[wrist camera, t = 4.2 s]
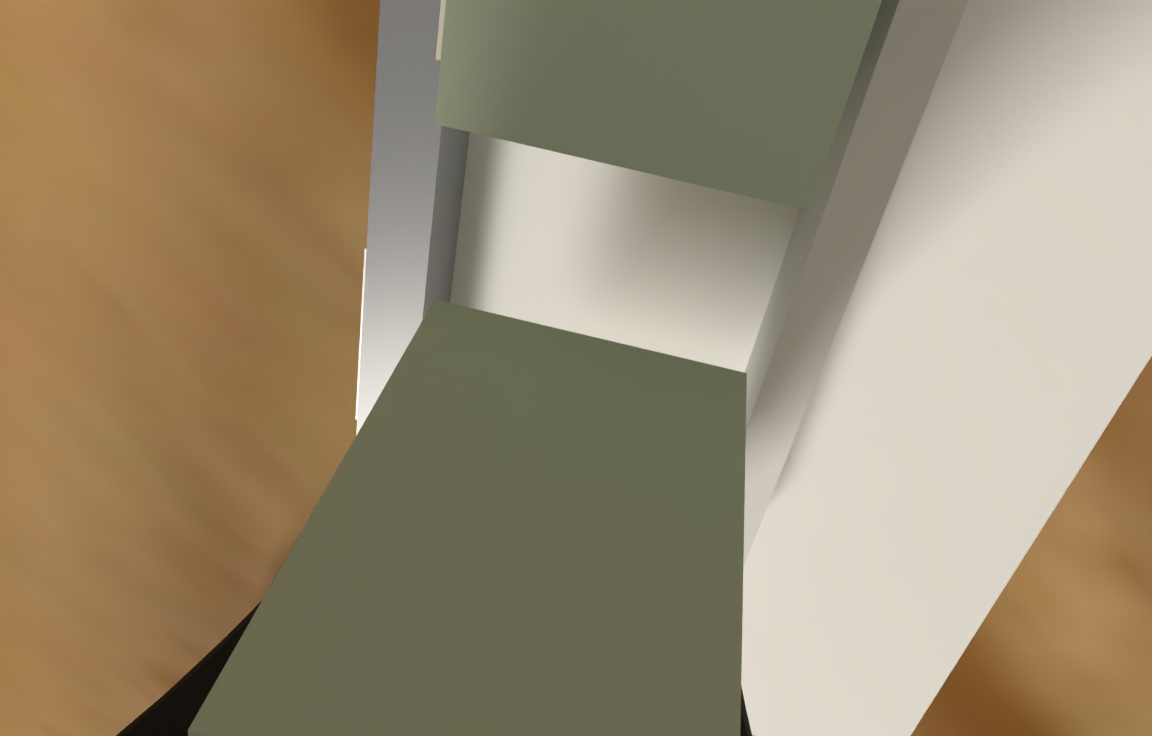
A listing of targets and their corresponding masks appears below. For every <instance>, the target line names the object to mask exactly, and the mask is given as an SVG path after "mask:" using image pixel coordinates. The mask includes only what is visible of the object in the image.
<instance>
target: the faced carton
mask: <svg viewBox="0 0 1152 736" xmlns="http://www.w3.org/2000/svg"><path fill="white" fill-rule="evenodd" d="M881 2H882V0H441V5H440V16H439V27H438V38H437V49H436V60H440V70H439V81H438V91H437V102H436V113H435V124H437V125H441V126H445V127H450V128H454V129H458V130H463V131H467V132H471V133H476V134H480V135H484V136H489V137H493V138H497V139H502V140H506V141H510V142H515V143H519V144H523V145H528V146H532V147H536V148H541V149H545V150H549V151H553V152H558V153H562V154H566V155H571V156H575V157H579V158H584V159H588V160H592V161H597V162H601V163H605V164H610V165H614V166H618V167H623V168H627V169H631V170H636V171H640V172H644V173H649V174H653V175H657V176H662V177H666V178H670V179H674V180H679V181H683V182H687V183H692V184H696V185H700V186H705V187H709V188H713V189H718V190H722V191H726V192H731V193H735V194H739V195H744V196H748V197H752V198H757V199H761V200H765V201H770V202H774V203H778V204H783V205H787V206H791V207H795V208H800V209H804V210H808V211H809V210H810V207H811V204H812V201H813V198H814V195H815V192H816V189H817V187H818V184H819V181H820V178H821V175H822V172H823V169H824V166H825V163H826V161H827V158H828V155H829V152H830V149H831V146H832V143H833V140H834V138H835V135H836V132H837V129H838V126H839V123H840V120H841V117H842V115H843V112H844V109H845V106H846V103H847V100H848V97H849V94H850V91H851V89H852V86H853V83H854V80H855V77H856V74H857V71H858V68H859V66H860V63H861V60H862V57H863V54H864V51H865V48H866V45H867V42H868V40H869V37H870V34H871V31H872V28H873V25H874V22H875V19H876V17H877V14H878V11H879V8H880V5H881Z"/></svg>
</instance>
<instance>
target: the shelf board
mask: <svg viewBox="0 0 1152 736" xmlns="http://www.w3.org/2000/svg"><path fill="white" fill-rule="evenodd" d="M450 303H452V304H456V305H461V306H465V307H469V308H473V309H478V310H482V311H486V312H490V313H495V314H499V315H503V316H507V317H512V318H516V319H520V320H524V321H528V322H533V323H537V324H541V325H545V326H550V327H554V328H558V329H562V330H567V331H571V332H575V333H579V334H584V335H588V336H592V337H596V338H601V339H605V340H609V341H613V342H617V343H622V344H626V345H630V346H634V347H639V348H643V349H647V350H651V351H656V352H660V353H664V354H668V355H673V356H677V357H681V358H685V359H689V360H694V361H698V362H702V363H706V364H711V365H715V366H719V367H723V368H728V369H732V370H736V371H740V372H745V373H747V394H746V449H745V505H744V560H743V616H742V671H741V686H742V691H743V696H744V701H745V706H746V711H747V715H748V720H749V724H750V728H751V733H752V735H754V736H910V735H911V734H912V732H913V731H914V729H915V728H916V726H917V724H918V723H919V721H920V720H921V718H922V717H923V715H924V713H925V712H926V710H927V709H928V707H929V706H930V704H931V702H932V701H933V699H934V698H935V696H936V694H937V693H938V691H939V690H940V688H941V687H942V685H943V683H944V682H945V680H946V679H947V677H948V676H949V674H950V672H951V671H952V669H953V668H954V666H955V665H956V663H957V661H958V660H959V658H960V657H961V655H962V654H963V652H964V650H965V649H966V647H967V646H968V644H969V643H970V641H971V639H972V638H973V636H974V635H975V633H976V631H977V630H978V628H979V627H980V625H981V624H982V622H983V620H984V619H985V617H986V616H987V614H988V613H989V611H990V609H991V608H992V606H993V605H994V603H995V602H996V600H997V598H998V597H999V595H1000V594H1001V592H1002V591H1003V589H1004V587H1005V586H1006V584H1007V583H1008V581H1009V580H1010V578H1011V576H1012V575H1013V573H1014V572H1015V570H1016V568H1017V567H1018V565H1019V564H1020V562H1021V561H1022V559H1023V557H1024V556H1025V554H1026V553H1027V551H1028V550H1029V548H1030V546H1031V545H1032V543H1033V542H1034V540H1035V539H1036V537H1037V535H1038V534H1039V532H1040V531H1041V529H1042V528H1043V526H1044V524H1045V523H1046V521H1047V520H1048V518H1049V516H1050V515H1051V513H1052V512H1053V510H1054V509H1055V507H1056V505H1057V504H1058V502H1059V501H1060V499H1061V498H1062V496H1063V494H1064V493H1065V491H1066V490H1067V488H1068V487H1069V485H1070V483H1071V482H1072V480H1073V479H1074V477H1075V476H1076V474H1077V472H1078V471H1079V469H1080V468H1081V466H1082V465H1083V463H1084V461H1085V460H1086V458H1087V457H1088V455H1089V453H1090V452H1091V450H1092V449H1093V447H1094V446H1095V444H1096V442H1097V441H1098V439H1099V438H1100V436H1101V435H1102V433H1103V431H1104V430H1105V428H1106V427H1107V425H1108V424H1109V422H1110V420H1111V419H1112V417H1113V416H1114V414H1115V413H1116V411H1117V409H1118V408H1119V406H1120V405H1121V403H1122V402H1123V400H1124V398H1125V397H1126V395H1127V394H1128V392H1129V390H1130V389H1131V387H1132V386H1133V384H1134V383H1135V381H1136V379H1137V378H1138V376H1139V375H1140V373H1141V372H1142V370H1143V368H1144V367H1145V365H1146V364H1147V362H1148V361H1149V359H1150V357H1151V356H1152V0H882V2H881V5H880V8H879V11H878V14H877V17H876V19H875V22H874V25H873V28H872V31H871V34H870V37H869V40H868V42H867V45H866V48H865V51H864V54H863V57H862V60H861V63H860V66H859V68H858V71H857V74H856V77H855V80H854V83H853V86H852V89H851V91H850V94H849V97H848V100H847V103H846V106H845V109H844V112H843V115H842V117H841V120H840V123H839V126H838V129H837V132H836V135H835V138H834V140H833V143H832V146H831V149H830V152H829V155H828V158H827V161H826V163H825V166H824V169H823V172H822V175H821V178H820V181H819V184H818V187H817V189H816V192H815V195H814V198H813V201H812V204H811V207H810V210H809V211H808V210H804V209H800V208H795V207H791V206H787V205H783V204H778V203H774V202H770V201H765V200H761V199H757V198H752V197H748V196H744V195H739V194H735V193H731V192H726V191H722V190H718V189H713V188H709V187H705V186H700V185H696V184H692V183H687V182H683V181H679V180H674V179H670V178H666V177H662V176H657V175H653V174H649V173H644V172H640V171H636V170H631V169H627V168H623V167H618V166H614V165H610V164H605V163H601V162H597V161H592V160H588V159H584V158H579V157H575V156H571V155H566V154H562V153H558V152H553V151H549V150H545V149H541V148H536V147H532V146H528V145H523V144H519V143H515V142H510V141H506V140H502V139H497V138H493V137H489V136H484V135H480V134H476V133H471V132H470V134H469V142H468V151H467V160H466V168H465V177H464V186H463V194H462V203H461V211H460V220H459V229H458V237H457V246H456V254H455V263H454V272H453V280H452V289H451V298H450Z"/></svg>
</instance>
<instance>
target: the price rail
mask: <svg viewBox="0 0 1152 736" xmlns="http://www.w3.org/2000/svg"><path fill="white" fill-rule="evenodd" d="M440 5H441V0H380V15H379V33H378V51H377V70H376V88H375V106H374V124H373V142H372V160H371V178H370V196H369V214H368V233H367V246H366V247H365V252H364V271H363V289H362V308H361V326H360V345H359V364H358V382H357V401H356V420H357V432H356V436H357V434H358V432H359V430H360V429H361V427H362V425H363V423H364V422H365V420H366V418H367V416H368V415H369V413H370V411H371V410H372V408H373V406H374V404H375V403H376V401H377V399H378V397H379V396H380V394H381V392H382V390H383V389H384V387H385V385H386V383H387V382H388V380H389V378H390V376H391V375H392V373H393V371H394V369H395V368H396V366H397V364H398V362H399V361H400V359H401V357H402V355H403V354H404V352H405V350H406V348H407V347H408V345H409V343H410V341H411V340H412V338H413V336H414V334H415V333H416V331H417V329H418V327H419V326H420V324H421V322H422V320H423V319H424V317H425V315H426V313H427V312H428V310H429V308H430V306H431V305H432V303H433V301H434V299H435V300H440V301H444V302H448V303H450V298H451V289H452V280H453V272H454V263H455V254H456V246H457V237H458V229H459V220H460V211H461V203H462V194H463V186H464V177H465V168H466V160H467V151H468V142H469V134H470V132H467V131H463V130H458V129H454V128H450V127H445V126H441V125H437V124H435V113H436V102H437V91H438V81H439V70H440V60H436V49H437V38H438V27H439V16H440Z"/></svg>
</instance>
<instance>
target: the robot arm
mask: <svg viewBox="0 0 1152 736" xmlns="http://www.w3.org/2000/svg"><path fill="white" fill-rule="evenodd" d="M261 602H262V601H261ZM261 602H260V603H261ZM260 603H259V604H258V605H257V606H256V607H255V608H254V609H253V610H252V611H251V612H250V613H249V614H248V615H247V616H246V617H245V618H244V619H243V620H242V621H241V622H240V623H239V624H238V625H237V626H236V627H235V628H234V629H233V630H232V631H231V632H230V633H229V634H228V635H227V636H226V637H225V638H224V639H223V640H222V641H221V642H220V643H219V644H218V645H217V646H216V647H215V648H214V649H213V650H212V651H211V652H210V653H208V654H207V655H206V656H205V657H204V658H203V659H202V660H201V661H200V662H199V663H198V664H197V665H196V666H195V667H194V668H192V669H191V670H190V671H189V672H188V673H187V674H186V675H185V676H184V677H183V678H182V679H181V680H180V681H179V682H178V683H176V684H175V685H174V686H173V687H172V688H171V689H170V690H169V691H168V692H167V693H165V694H164V695H163V696H162V697H161V698H160V699H159V700H158V701H156V702H155V703H154V704H153V705H152V706H150V707H149V708H148V709H147V710H146V711H145V712H143V713H142V714H141V715H140V716H139V717H138V718H136V719H135V720H134V721H133V722H132V723H131V724H129V725H128V726H127V727H126V728H125V729H123V730H122V731H121V732H120V733H119V734H118V735H116V736H188V729H189V727H190V726H191V724H192V722H193V720H194V719H195V717H196V715H197V713H198V712H199V710H200V708H201V706H202V705H203V703H204V701H205V699H206V698H207V696H208V694H209V692H210V691H211V689H212V687H213V685H214V684H215V682H216V680H217V678H218V677H219V675H220V673H221V671H222V670H223V668H224V666H225V665H226V663H227V661H228V659H229V658H230V656H231V654H232V652H233V651H234V649H235V647H236V645H237V644H238V642H239V640H240V638H241V637H242V635H243V633H244V631H245V630H246V628H247V626H248V624H249V623H250V621H251V619H252V617H253V616H254V614H255V612H256V610H257V609H258V607H259V605H260ZM740 736H752V733H751V728H750V724H749V720H748V715H747V711H746V706H745V701H744V696H743V691H742V686H741V727H740Z"/></svg>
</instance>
